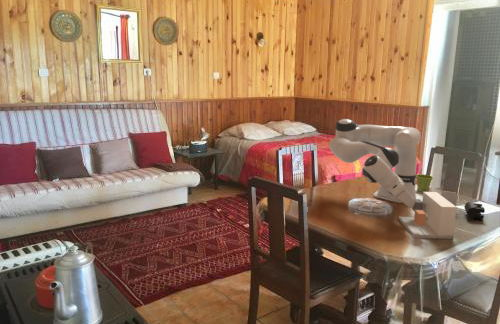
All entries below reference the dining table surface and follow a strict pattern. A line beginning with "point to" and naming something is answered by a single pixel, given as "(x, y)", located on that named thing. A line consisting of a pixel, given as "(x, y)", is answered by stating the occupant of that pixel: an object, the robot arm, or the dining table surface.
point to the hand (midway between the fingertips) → (412, 206)
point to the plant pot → (423, 182)
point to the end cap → (474, 211)
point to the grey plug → (418, 205)
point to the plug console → (433, 218)
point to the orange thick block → (420, 217)
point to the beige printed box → (450, 196)
